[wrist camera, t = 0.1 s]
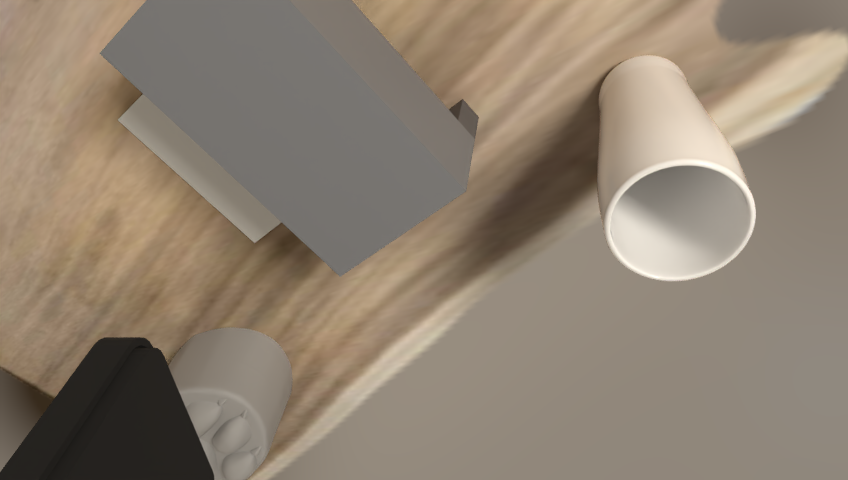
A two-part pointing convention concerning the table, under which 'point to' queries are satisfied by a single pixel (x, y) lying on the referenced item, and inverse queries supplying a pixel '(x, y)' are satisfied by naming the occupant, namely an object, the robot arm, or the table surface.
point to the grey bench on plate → (303, 114)
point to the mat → (198, 168)
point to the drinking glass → (667, 176)
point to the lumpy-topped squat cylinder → (233, 395)
